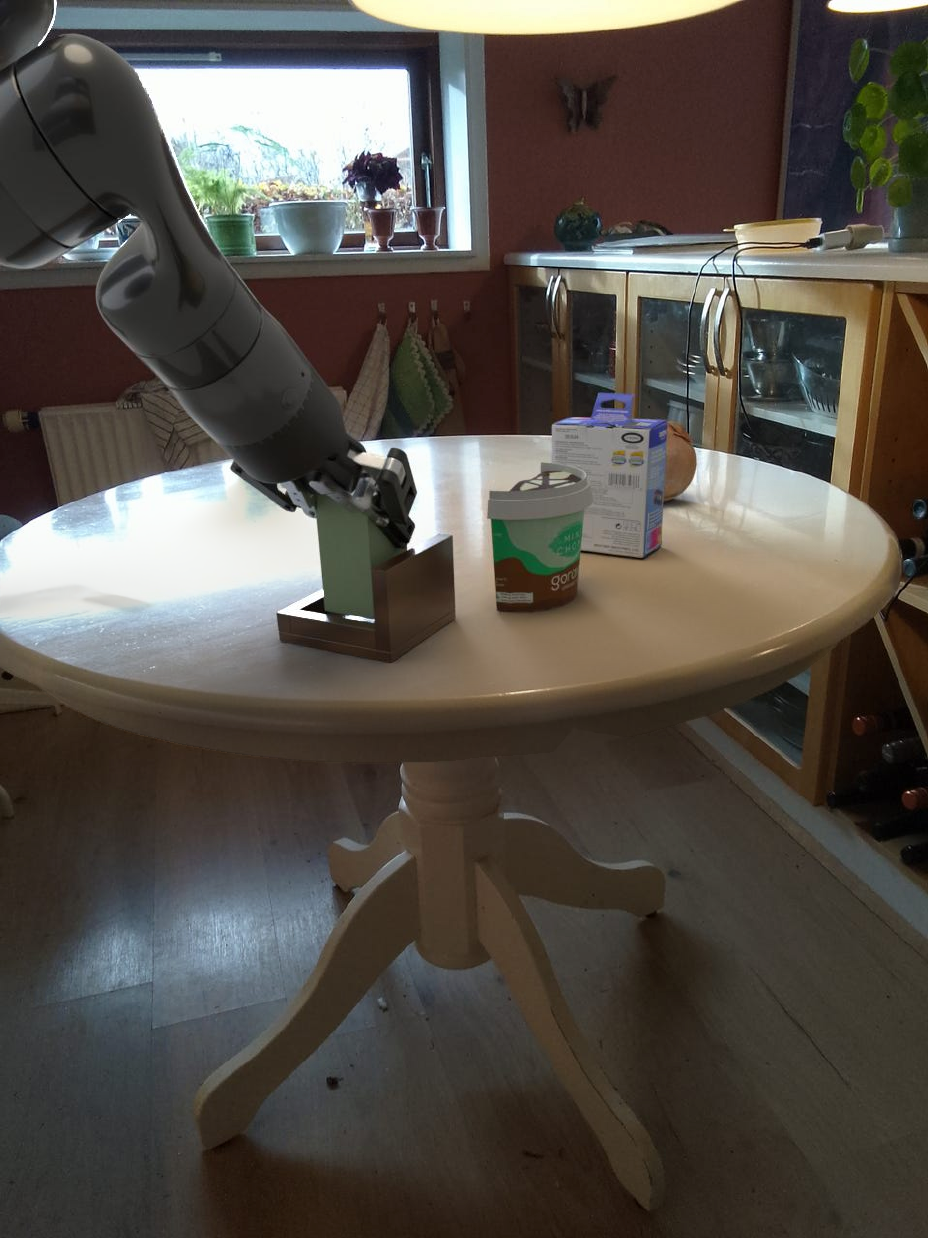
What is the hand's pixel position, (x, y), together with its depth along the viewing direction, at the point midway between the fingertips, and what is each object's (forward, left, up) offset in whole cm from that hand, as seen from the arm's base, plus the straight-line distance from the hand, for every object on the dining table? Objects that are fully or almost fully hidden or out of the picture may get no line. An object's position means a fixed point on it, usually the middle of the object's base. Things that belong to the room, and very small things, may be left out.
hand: (376, 534), depth 68 cm
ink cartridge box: (+14, +24, -7) cm, 28 cm away
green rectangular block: (0, -2, -5) cm, 5 cm away
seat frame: (0, -2, -7) cm, 7 cm away
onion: (+16, +44, -7) cm, 47 cm away
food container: (+12, +9, -7) cm, 16 cm away
